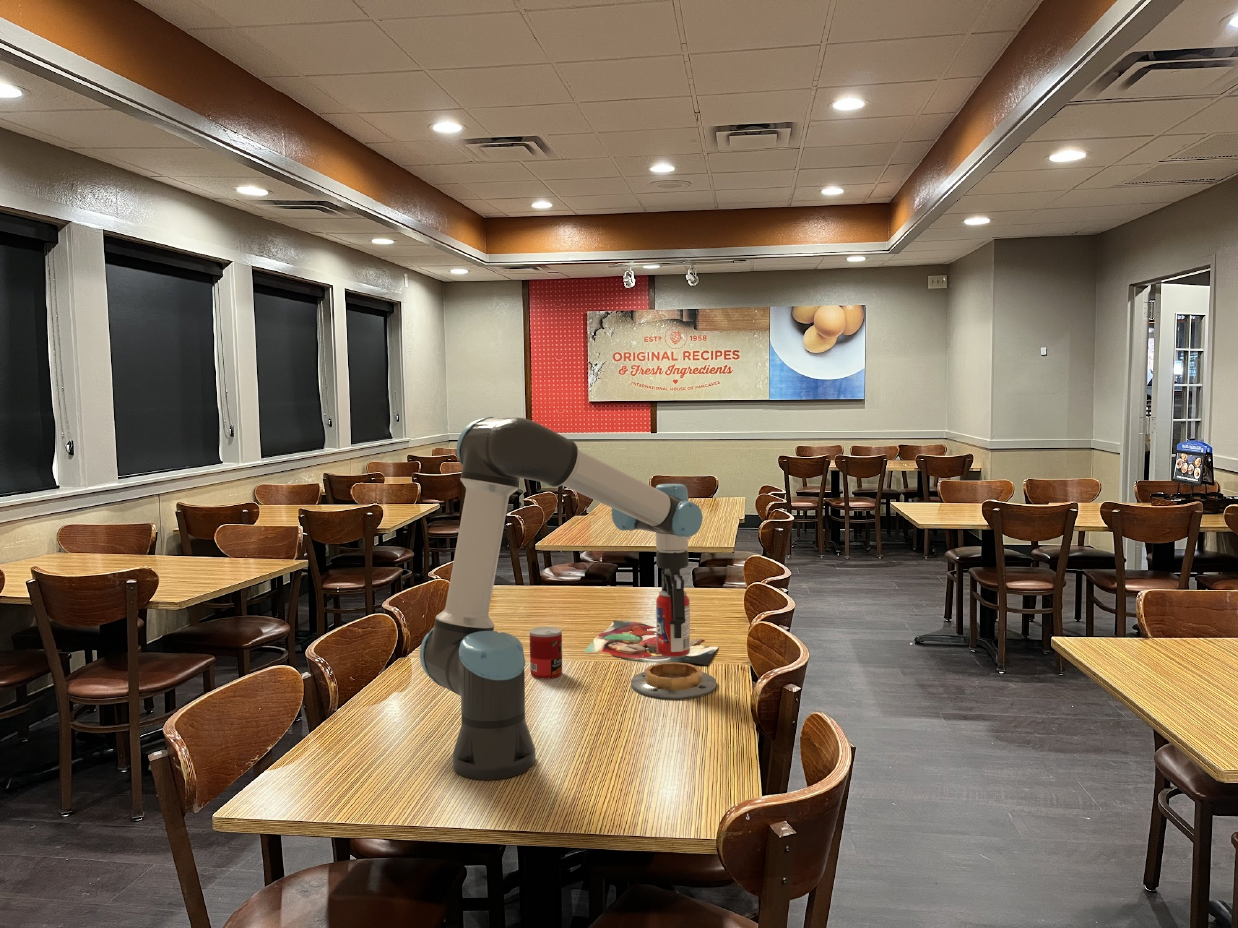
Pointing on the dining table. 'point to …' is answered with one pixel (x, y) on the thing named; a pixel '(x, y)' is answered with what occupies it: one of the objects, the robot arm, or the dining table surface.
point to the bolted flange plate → (673, 681)
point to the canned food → (546, 652)
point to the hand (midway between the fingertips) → (673, 646)
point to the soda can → (665, 629)
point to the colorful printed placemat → (643, 645)
